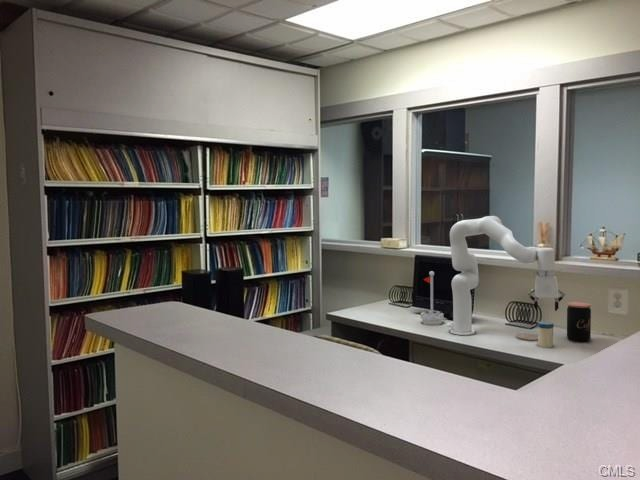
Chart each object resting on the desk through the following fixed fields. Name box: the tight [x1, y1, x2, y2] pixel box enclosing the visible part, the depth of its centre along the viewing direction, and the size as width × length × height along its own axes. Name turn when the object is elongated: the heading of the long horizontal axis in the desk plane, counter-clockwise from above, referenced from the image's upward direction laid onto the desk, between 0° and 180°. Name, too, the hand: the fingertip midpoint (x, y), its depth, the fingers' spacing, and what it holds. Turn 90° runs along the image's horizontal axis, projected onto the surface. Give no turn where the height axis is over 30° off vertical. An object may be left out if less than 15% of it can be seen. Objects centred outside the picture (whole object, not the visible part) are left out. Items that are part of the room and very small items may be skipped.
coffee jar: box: [566, 301, 592, 343], centre depth 266 cm, size 11×11×18 cm
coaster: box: [516, 333, 538, 342], centre depth 272 cm, size 11×11×1 cm
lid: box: [537, 320, 554, 329], centre depth 257 cm, size 7×7×2 cm
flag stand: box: [420, 270, 445, 326], centre depth 309 cm, size 13×13×30 cm
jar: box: [537, 326, 554, 348], centre depth 257 cm, size 7×7×11 cm
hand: (546, 310), depth 256 cm, fingers open, 8 cm apart
